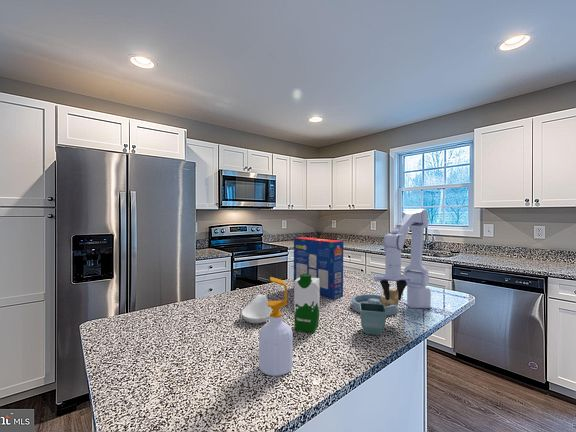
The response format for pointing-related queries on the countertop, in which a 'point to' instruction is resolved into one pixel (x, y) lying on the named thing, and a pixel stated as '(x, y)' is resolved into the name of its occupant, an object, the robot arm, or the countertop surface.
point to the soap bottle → (276, 340)
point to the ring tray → (372, 300)
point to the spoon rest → (257, 310)
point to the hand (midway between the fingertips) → (392, 299)
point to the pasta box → (320, 264)
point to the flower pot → (373, 318)
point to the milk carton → (306, 303)
